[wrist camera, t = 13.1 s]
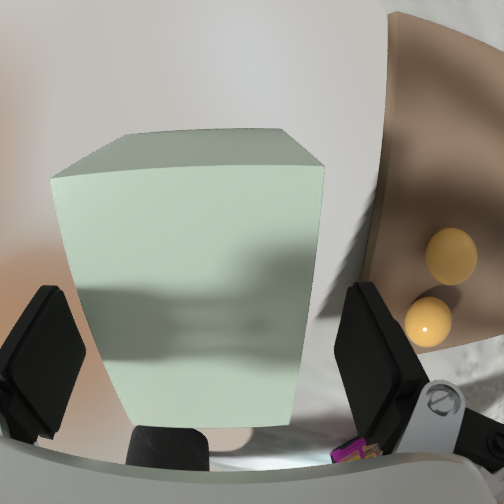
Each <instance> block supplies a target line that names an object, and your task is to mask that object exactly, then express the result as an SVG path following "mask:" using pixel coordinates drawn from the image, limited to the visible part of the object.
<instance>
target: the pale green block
mask: <svg viewBox="0 0 504 504" xmlns="http://www.w3.org/2000/svg"><path fill="white" fill-rule="evenodd" d="M324 169H325V166H324V165H323V164H322V163H321V162H319V161H318V160H317V159H316V158H315V157H314V156H313V155H311V154H310V153H309V152H308V151H307V150H306V149H304V148H303V147H302V146H301V145H300V144H299V143H298V142H296V141H295V140H294V139H293V138H292V137H290V136H289V135H288V134H287V133H286V132H284V131H283V130H282V129H262V128H261V129H259V128H258V129H257V128H249V129H248V128H243V129H242V128H241V129H240V128H237V129H198V130H178V131H165V132H150V133H139V134H129V135H124V136H122V137H120V138H118V139H116V140H115V141H113V142H111V143H109V144H107V145H105V146H104V147H102V148H100V149H98V150H96V151H95V152H93V153H91V154H89V155H88V156H86V157H84V158H82V159H81V160H79V161H77V162H76V163H74V164H72V165H71V166H69V167H68V168H66V169H64V170H63V171H61V172H60V173H58V174H56V175H55V176H53V177H52V178H50V183H51V189H52V194H53V199H54V204H55V209H56V214H57V218H58V223H59V227H60V231H61V236H62V240H63V243H64V247H65V251H66V255H67V259H68V262H69V266H70V269H71V273H72V276H73V280H74V283H75V286H76V289H77V293H78V296H79V299H80V302H81V305H82V307H83V311H84V314H85V316H86V319H87V322H88V325H89V327H90V330H91V333H92V336H93V338H94V341H95V343H96V346H97V348H98V351H99V353H100V356H101V358H102V360H103V363H104V365H105V368H106V370H107V372H108V374H109V377H110V379H111V381H112V384H113V386H114V388H115V390H116V392H117V395H118V397H119V399H120V400H121V403H122V405H123V407H124V409H125V411H126V413H127V415H128V417H129V419H130V421H131V423H132V424H133V425H143V426H156V427H175V428H246V427H247V428H248V427H267V426H280V425H289V422H290V417H291V412H292V406H293V401H294V396H295V390H296V385H297V379H298V374H299V368H300V362H301V356H302V350H303V344H304V338H305V331H306V324H307V318H308V311H309V304H310V297H311V290H312V282H313V275H314V267H315V259H316V251H317V242H318V232H319V223H320V214H321V204H322V193H323V182H324Z"/></svg>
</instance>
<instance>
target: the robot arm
mask: <svg viewBox="0 0 504 504" xmlns="http://www.w3.org/2000/svg"><path fill="white" fill-rule="evenodd" d="M85 355H86V348H85V345H84V343H83V340H82V338H81V336H80V333H79V331H78V329H77V326H76V324H75V321H74V319H73V316H72V313H71V311H70V308H69V306H68V303H67V300H66V298H65V295H64V293H63V291H61V290H60V289H59V287H58V286H54V285H53V286H52V285H51V286H50V285H43V286H41V287H40V288H39V290H38V291H37V292H36V294H35V295H34V297H33V298H32V300H31V301H30V303H29V304H28V306H27V307H26V309H25V310H24V312H23V313H22V315H21V316H20V318H19V320H18V321H17V323H16V324H15V326H14V327H13V329H12V330H11V332H10V334H9V335H8V337H7V339H6V340H5V342H4V344H3V345H2V347H1V349H0V504H504V424H501V423H499V422H497V421H495V420H492V419H490V418H488V417H486V416H484V415H481V414H479V413H477V412H475V411H472V410H470V409H468V408H466V407H465V398H464V395H463V393H462V392H461V390H460V389H459V388H458V387H457V386H456V385H454V384H452V383H451V382H449V381H445V380H434V381H431V382H430V381H429V379H428V377H427V375H426V373H425V371H424V369H423V367H422V365H421V363H420V361H419V359H418V357H417V355H416V353H415V351H414V349H413V348H412V346H411V344H410V342H409V340H408V338H407V336H406V335H405V333H404V331H403V329H402V327H401V326H400V324H399V323H398V321H397V320H395V319H394V318H393V316H392V314H391V313H390V311H389V309H388V307H387V306H386V304H385V302H384V300H383V299H382V297H381V295H380V293H379V292H378V290H377V288H376V287H375V285H374V283H373V282H371V281H368V282H355V283H354V284H353V287H349V288H348V290H347V294H346V299H345V303H344V308H343V312H342V316H341V321H340V325H339V329H338V333H337V337H336V341H335V345H334V355H335V359H336V362H337V365H338V368H339V372H340V375H341V378H342V381H343V385H344V388H345V391H346V395H347V398H348V401H349V405H350V408H351V412H352V415H353V418H354V422H355V425H356V429H357V432H358V435H359V437H360V438H364V439H365V443H366V446H369V445H374V444H378V446H379V449H380V450H381V451H382V452H381V454H380V455H379V456H377V457H371V458H365V459H359V460H354V461H348V462H341V463H334V464H327V465H319V466H311V467H302V468H292V469H280V470H265V471H239V472H210V471H184V470H169V469H157V468H147V467H139V466H131V465H123V464H117V463H110V462H104V461H99V460H93V459H88V458H83V457H79V456H74V455H70V454H65V453H61V452H57V451H53V450H49V449H46V448H41V447H39V444H38V442H37V438H38V435H39V436H40V437H43V438H47V439H51V440H53V437H54V434H55V433H56V432H58V430H59V428H60V425H61V422H62V419H63V416H64V413H65V410H66V407H67V404H68V401H69V399H70V396H71V393H72V390H73V387H74V385H75V382H76V379H77V376H78V374H79V371H80V368H81V366H82V363H83V361H84V358H85Z"/></svg>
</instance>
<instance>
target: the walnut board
mask: <svg viewBox="0 0 504 504" xmlns="http://www.w3.org/2000/svg"><path fill="white" fill-rule="evenodd" d="M445 228H458V229H461V230H463V231H465V232H466V233H467V234H469V235H470V237H471V238H472V239H473V241H474V243H475V245H476V248H477V254H478V258H477V265H476V268H475V270H474V272H473V274H472V275H471V276H470V277H469V278H468V279H467V280H466V281H464V282H463V283H461V284H458V285H445V284H442V283H440V282H438V281H437V280H435V279H434V278H433V277H432V275H431V274H430V273H429V271H428V269H427V266H426V262H425V251H426V247H427V245H428V242H429V240H430V239H431V238H432V236H433V235H434V234H435V233H437V232H438V231H440V230H442V229H445ZM368 281H371V282H373V283H374V285H375V287H376V288H377V290H378V292H379V293H380V295H381V297H382V299H383V300H384V302H385V304H386V306H387V307H388V309H389V311H390V313H391V314H392V316H393V318H394V319H395V320H397V321H398V323H399V324H400V326H401V327H402V329H403V331H404V333H405V335H406V336H407V334H406V331H405V326H404V321H405V316H406V313H407V311H408V309H409V307H410V306H411V305H412V304H413V303H414V302H415V301H417V300H418V299H420V298H423V297H436V298H439V299H441V300H442V301H443V302H445V303H446V304H447V306H448V307H449V309H450V312H451V315H452V326H451V330H450V332H449V334H448V336H447V337H446V338H445V339H444V340H443V341H442V342H441V343H440V344H438V345H436V346H433V347H421V346H418V345H416V344H414V343H413V342H412V341H411V340H410V339H409V337H408V336H407V338H408V340H409V342H410V344H411V346H412V348H413V349H414V351H415V353H416V354H421V353H427V352H432V351H436V350H441V349H446V348H450V347H455V346H459V345H464V344H468V343H472V342H476V341H480V340H484V339H488V338H491V337H495V336H499V335H502V334H504V52H502V51H500V50H498V49H496V48H494V47H492V46H490V45H488V44H486V43H483V42H481V41H479V40H477V39H475V38H472V37H470V36H468V35H465V34H463V33H460V32H458V31H455V30H453V29H450V28H447V27H445V26H442V25H439V24H436V23H434V22H431V21H428V20H425V19H422V18H418V17H415V16H412V15H409V14H405V13H402V12H398V11H397V12H394V13H391V14H388V60H387V85H386V103H385V115H384V128H383V138H382V149H381V157H380V165H379V173H378V181H377V188H376V195H375V202H374V208H373V215H372V221H371V227H370V232H369V238H368V243H367V249H366V254H365V259H364V264H363V269H362V274H361V279H360V282H368Z"/></svg>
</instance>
